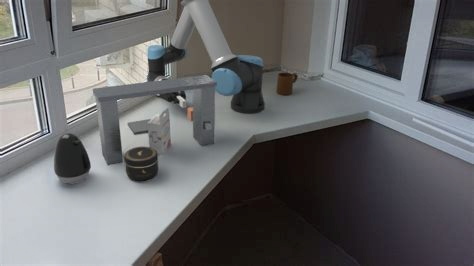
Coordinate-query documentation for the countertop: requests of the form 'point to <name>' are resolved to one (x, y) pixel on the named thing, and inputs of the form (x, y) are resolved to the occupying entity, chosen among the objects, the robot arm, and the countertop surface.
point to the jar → (141, 163)
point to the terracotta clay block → (190, 117)
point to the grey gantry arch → (109, 95)
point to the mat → (139, 126)
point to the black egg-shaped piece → (71, 159)
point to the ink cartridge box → (160, 132)
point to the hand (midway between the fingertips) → (184, 104)
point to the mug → (285, 83)
